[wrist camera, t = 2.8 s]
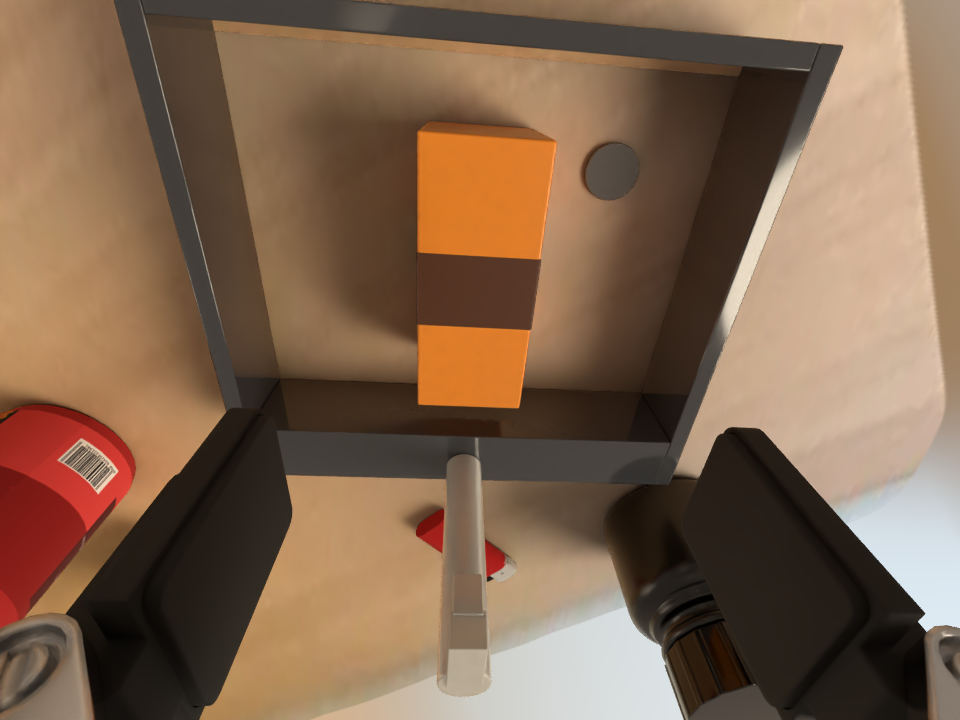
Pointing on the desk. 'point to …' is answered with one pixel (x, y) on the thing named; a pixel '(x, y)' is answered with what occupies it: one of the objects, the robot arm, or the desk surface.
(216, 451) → the robot arm
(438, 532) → the lighter
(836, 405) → the desk surface
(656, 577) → the ink bottle
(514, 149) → the orange striped block
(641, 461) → the sink basin
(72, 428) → the canned food
